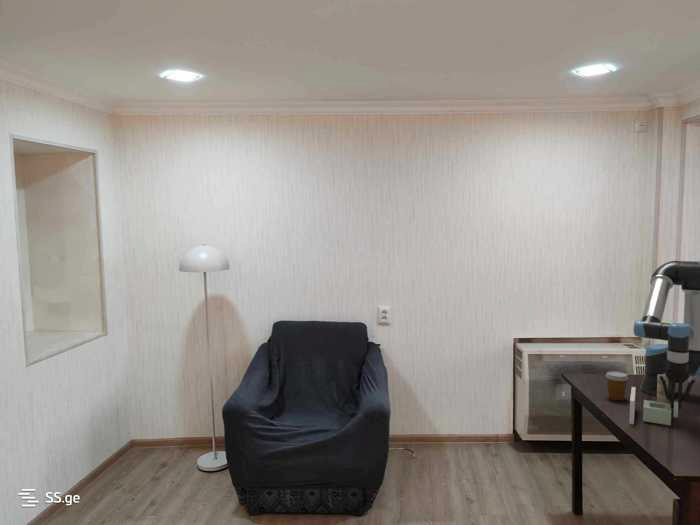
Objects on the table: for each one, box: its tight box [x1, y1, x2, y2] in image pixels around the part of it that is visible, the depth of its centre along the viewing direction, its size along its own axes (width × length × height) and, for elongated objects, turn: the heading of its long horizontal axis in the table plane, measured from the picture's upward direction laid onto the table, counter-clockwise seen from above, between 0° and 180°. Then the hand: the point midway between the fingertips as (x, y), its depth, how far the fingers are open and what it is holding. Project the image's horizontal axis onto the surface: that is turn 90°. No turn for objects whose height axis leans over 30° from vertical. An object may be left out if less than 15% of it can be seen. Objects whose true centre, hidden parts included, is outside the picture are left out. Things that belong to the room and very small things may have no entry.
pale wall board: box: [628, 386, 637, 425], centre depth 227 cm, size 2×20×10 cm, turn 150°
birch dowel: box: [656, 374, 668, 403], centre depth 232 cm, size 4×4×16 cm
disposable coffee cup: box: [605, 370, 629, 401], centre depth 249 cm, size 10×10×12 cm
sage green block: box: [642, 399, 672, 426], centre depth 222 cm, size 10×10×6 cm
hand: (675, 416), depth 219 cm, fingers closed
